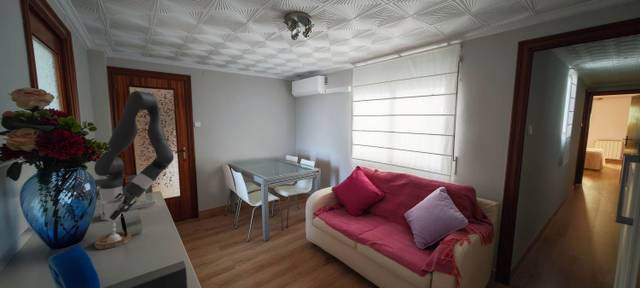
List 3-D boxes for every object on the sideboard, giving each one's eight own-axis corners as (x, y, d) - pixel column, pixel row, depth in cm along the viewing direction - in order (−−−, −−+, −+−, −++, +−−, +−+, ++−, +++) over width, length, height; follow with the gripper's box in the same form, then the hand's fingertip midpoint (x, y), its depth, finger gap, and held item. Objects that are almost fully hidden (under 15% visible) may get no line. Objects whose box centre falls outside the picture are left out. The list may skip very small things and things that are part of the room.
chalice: (100, 241, 103) (98, 201, 102) (118, 235, 109) (117, 197, 108) (109, 245, 100) (107, 204, 99) (127, 238, 106) (126, 200, 105)
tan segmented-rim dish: (90, 243, 103) (90, 238, 102) (124, 233, 113) (124, 228, 113) (101, 251, 96) (100, 246, 96) (135, 240, 107) (135, 235, 107)
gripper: (125, 178, 113) (93, 209, 104) (139, 183, 105) (106, 217, 96) (138, 187, 118) (109, 217, 109) (152, 192, 110) (122, 225, 101)
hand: (108, 217), depth 102 cm, fingers open, 7 cm apart
